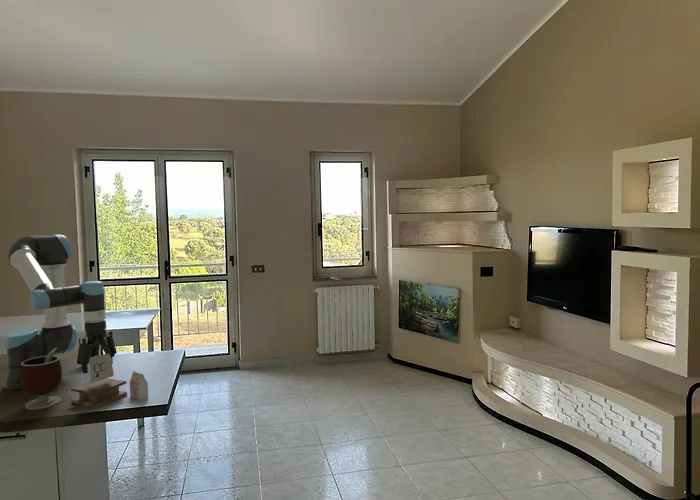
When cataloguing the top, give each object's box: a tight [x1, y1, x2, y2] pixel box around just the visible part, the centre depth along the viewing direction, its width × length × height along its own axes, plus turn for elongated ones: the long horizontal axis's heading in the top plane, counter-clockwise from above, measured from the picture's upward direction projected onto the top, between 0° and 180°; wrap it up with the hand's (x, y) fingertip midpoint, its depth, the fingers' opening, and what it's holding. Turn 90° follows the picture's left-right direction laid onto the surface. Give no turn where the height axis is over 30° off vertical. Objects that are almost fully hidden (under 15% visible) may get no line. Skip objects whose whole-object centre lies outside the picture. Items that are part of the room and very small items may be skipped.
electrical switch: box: [88, 353, 115, 382], centre depth 201 cm, size 9×5×9 cm, turn 142°
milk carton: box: [129, 370, 149, 401], centre depth 204 cm, size 4×7×10 cm, turn 53°
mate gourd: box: [20, 348, 63, 411], centre depth 199 cm, size 16×14×20 cm
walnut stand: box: [70, 377, 128, 409], centre depth 202 cm, size 14×14×6 cm
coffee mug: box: [86, 343, 100, 358], centre depth 250 cm, size 12×9×10 cm
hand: (98, 376), depth 201 cm, fingers closed on electrical switch, 9 cm apart
